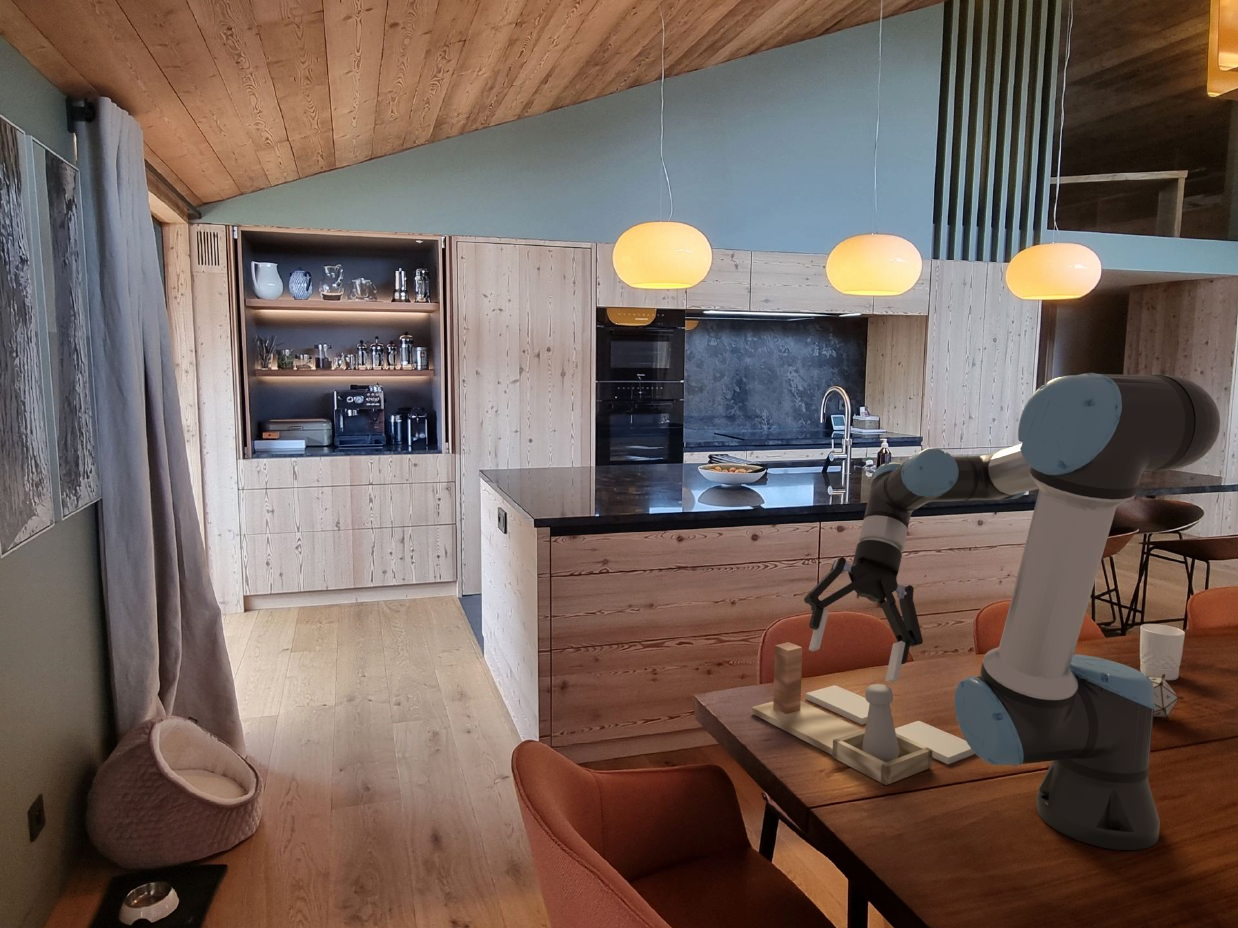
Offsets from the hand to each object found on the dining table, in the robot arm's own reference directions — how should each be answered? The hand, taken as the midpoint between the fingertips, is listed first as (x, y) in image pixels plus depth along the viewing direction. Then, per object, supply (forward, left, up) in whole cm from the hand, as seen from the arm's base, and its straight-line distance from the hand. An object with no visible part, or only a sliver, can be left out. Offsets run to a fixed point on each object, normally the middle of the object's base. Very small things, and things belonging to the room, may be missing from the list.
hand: (852, 665), depth 132 cm
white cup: (-6, -88, -17) cm, 90 cm away
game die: (-16, -63, -17) cm, 67 cm away
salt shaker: (-2, -5, -17) cm, 18 cm away
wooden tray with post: (+8, -5, -17) cm, 19 cm away
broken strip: (+8, -18, -17) cm, 26 cm away
